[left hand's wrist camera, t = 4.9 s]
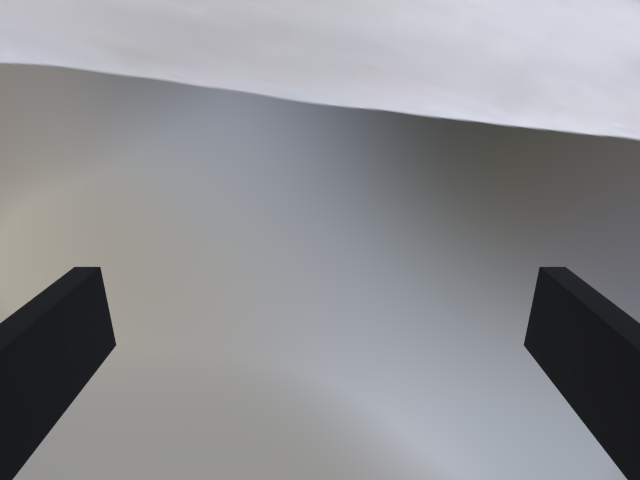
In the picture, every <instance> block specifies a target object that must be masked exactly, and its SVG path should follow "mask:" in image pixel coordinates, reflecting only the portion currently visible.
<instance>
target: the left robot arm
mask: <svg viewBox="0 0 640 480" xmlns="http://www.w3.org/2000/svg"><path fill="white" fill-rule="evenodd" d="M115 346H116V342H115V337H114V332H113V327H112V322H111V317H110V313H109V308H108V303H107V298H106V293H105V288H104V283H103V278H102V273H101V268H100V267H74V268H73V269H71V270H70V271H69V272H67V273H66V274H65V275H63V276H62V277H61V278H60V279H58V280H57V281H56V282H54V283H53V284H52V285H50V286H49V287H48V288H46V289H45V290H44V291H42V292H41V293H40V294H38V295H37V296H36V297H34V298H33V299H32V300H31V301H29V302H28V303H27V304H25V305H24V306H23V307H21V308H20V309H19V310H17V311H16V312H15V313H13V314H12V315H11V316H9V317H8V318H7V319H5V320H4V321H3V322H1V323H0V480H12V479H13V478H14V477H15V476H16V474H17V473H18V472H19V470H20V469H21V468H22V467H23V465H24V464H25V463H26V461H27V460H28V459H29V457H30V456H31V455H32V454H33V452H34V451H35V450H36V448H37V447H38V446H39V444H40V443H41V442H42V441H43V439H44V438H45V437H46V435H47V434H48V433H49V431H50V430H51V429H52V428H53V426H54V425H55V424H56V422H57V421H58V420H59V419H60V417H61V416H62V415H63V413H64V412H65V411H66V409H67V408H68V407H69V406H70V404H71V403H72V402H73V400H74V399H75V398H76V396H77V395H78V394H79V393H80V391H81V390H82V389H83V387H84V386H85V385H86V384H87V382H88V381H89V380H90V378H91V377H92V376H93V375H94V373H95V372H96V371H97V369H98V368H99V367H100V365H101V364H102V363H103V362H104V360H105V359H106V358H107V356H108V355H109V354H110V352H111V351H112V350H113V349H114V347H115ZM524 346H525V347H526V349H527V350H528V351H529V352H530V354H531V355H532V356H533V358H534V359H535V360H536V361H537V363H538V364H539V365H540V367H541V368H542V369H543V371H544V372H545V373H546V374H547V376H548V377H549V378H550V380H551V381H552V382H553V384H554V385H555V386H556V387H557V389H558V390H559V391H560V393H561V394H562V395H563V397H564V398H565V399H566V400H567V402H568V403H569V404H570V406H571V407H572V408H573V409H574V411H575V412H576V413H577V415H578V416H579V417H580V419H581V420H582V421H583V422H584V424H585V425H586V426H587V428H588V429H589V430H590V432H591V433H592V434H593V435H594V437H595V438H596V439H597V441H598V442H599V443H600V444H601V446H602V447H603V448H604V450H605V451H606V452H607V453H608V455H609V456H610V457H611V459H612V460H613V461H614V463H615V464H616V465H617V466H618V468H619V469H620V470H621V472H622V473H623V474H624V476H625V477H626V478H627V479H628V480H640V323H639V322H637V321H636V320H635V319H633V318H632V317H631V316H629V315H628V314H627V313H625V312H624V311H623V310H621V309H620V308H619V307H617V306H616V305H615V304H613V303H612V302H611V301H609V300H608V299H607V298H605V297H604V296H603V295H602V294H600V293H599V292H598V291H596V290H595V289H594V288H592V287H591V286H590V285H588V284H587V283H586V282H584V281H583V280H582V279H580V278H579V277H578V276H577V275H575V274H574V273H573V272H571V271H570V270H569V269H567V268H566V267H540V268H539V273H538V278H537V283H536V288H535V293H534V298H533V303H532V308H531V313H530V317H529V323H528V327H527V332H526V337H525V342H524Z"/></svg>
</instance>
